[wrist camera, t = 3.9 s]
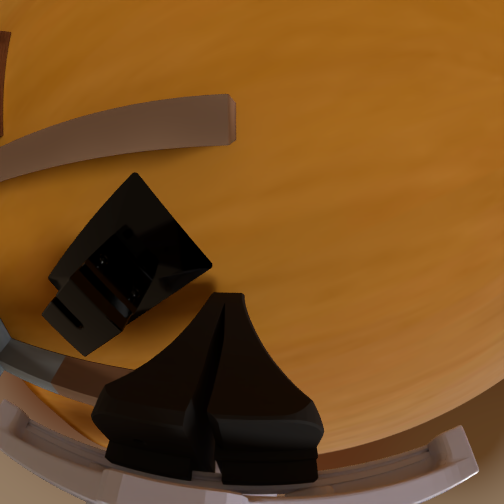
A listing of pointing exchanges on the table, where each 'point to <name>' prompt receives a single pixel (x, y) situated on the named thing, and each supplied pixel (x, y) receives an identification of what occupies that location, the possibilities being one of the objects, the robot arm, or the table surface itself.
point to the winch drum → (3, 70)
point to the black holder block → (120, 267)
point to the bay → (95, 146)
